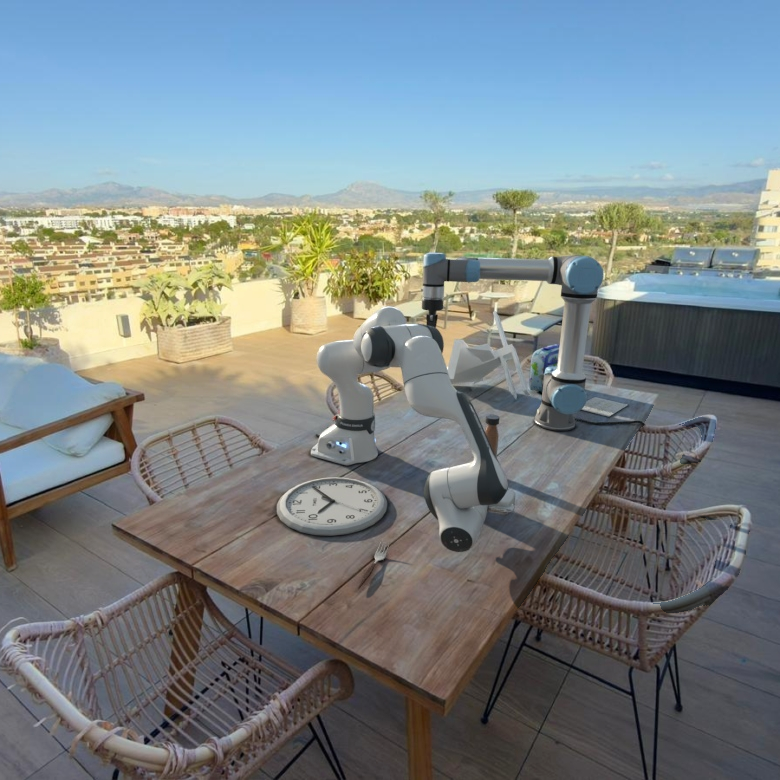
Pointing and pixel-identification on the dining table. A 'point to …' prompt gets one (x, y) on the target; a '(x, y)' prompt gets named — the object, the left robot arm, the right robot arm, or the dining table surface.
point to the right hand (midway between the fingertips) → (430, 357)
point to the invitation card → (603, 406)
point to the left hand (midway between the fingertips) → (479, 481)
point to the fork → (378, 557)
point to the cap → (492, 419)
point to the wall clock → (331, 506)
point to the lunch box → (542, 365)
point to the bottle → (492, 437)
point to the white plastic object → (483, 361)
